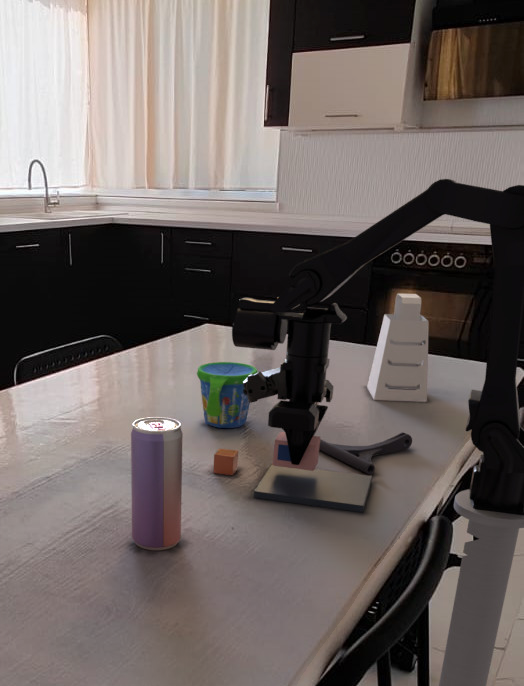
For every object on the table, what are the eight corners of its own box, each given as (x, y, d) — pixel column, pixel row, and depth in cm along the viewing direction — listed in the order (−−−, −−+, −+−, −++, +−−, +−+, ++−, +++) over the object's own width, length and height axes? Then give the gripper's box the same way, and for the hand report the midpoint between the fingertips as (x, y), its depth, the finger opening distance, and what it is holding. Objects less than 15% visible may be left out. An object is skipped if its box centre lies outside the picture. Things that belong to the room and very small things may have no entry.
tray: (371, 482, 114) (372, 475, 113) (362, 512, 103) (363, 505, 103) (271, 469, 118) (271, 463, 118) (253, 497, 108) (254, 491, 107)
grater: (416, 388, 165) (430, 292, 157) (426, 401, 155) (442, 300, 147) (367, 387, 166) (378, 291, 158) (373, 399, 156) (386, 298, 148)
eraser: (318, 462, 114) (320, 436, 112) (313, 471, 111) (316, 444, 109) (278, 457, 116) (280, 431, 114) (272, 465, 112) (274, 439, 111)
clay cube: (237, 469, 118) (238, 450, 117) (232, 475, 116) (233, 456, 114) (218, 466, 119) (219, 448, 118) (213, 473, 116) (214, 454, 115)
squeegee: (440, 461, 122) (442, 444, 121) (365, 475, 116) (367, 457, 115) (379, 436, 134) (381, 421, 133) (309, 447, 128) (310, 431, 127)
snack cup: (235, 439, 132) (238, 381, 127) (180, 430, 136) (181, 373, 132) (267, 416, 144) (270, 362, 140) (215, 409, 149) (217, 356, 145)
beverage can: (138, 554, 91) (137, 433, 85) (127, 534, 96) (125, 418, 90) (186, 549, 92) (189, 429, 86) (173, 529, 98) (174, 414, 92)
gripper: (264, 337, 117) (258, 435, 123) (233, 362, 101) (228, 473, 107) (338, 342, 114) (328, 443, 120) (319, 369, 98) (308, 484, 104)
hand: (297, 459), depth 113 cm, fingers closed on eraser, 4 cm apart
